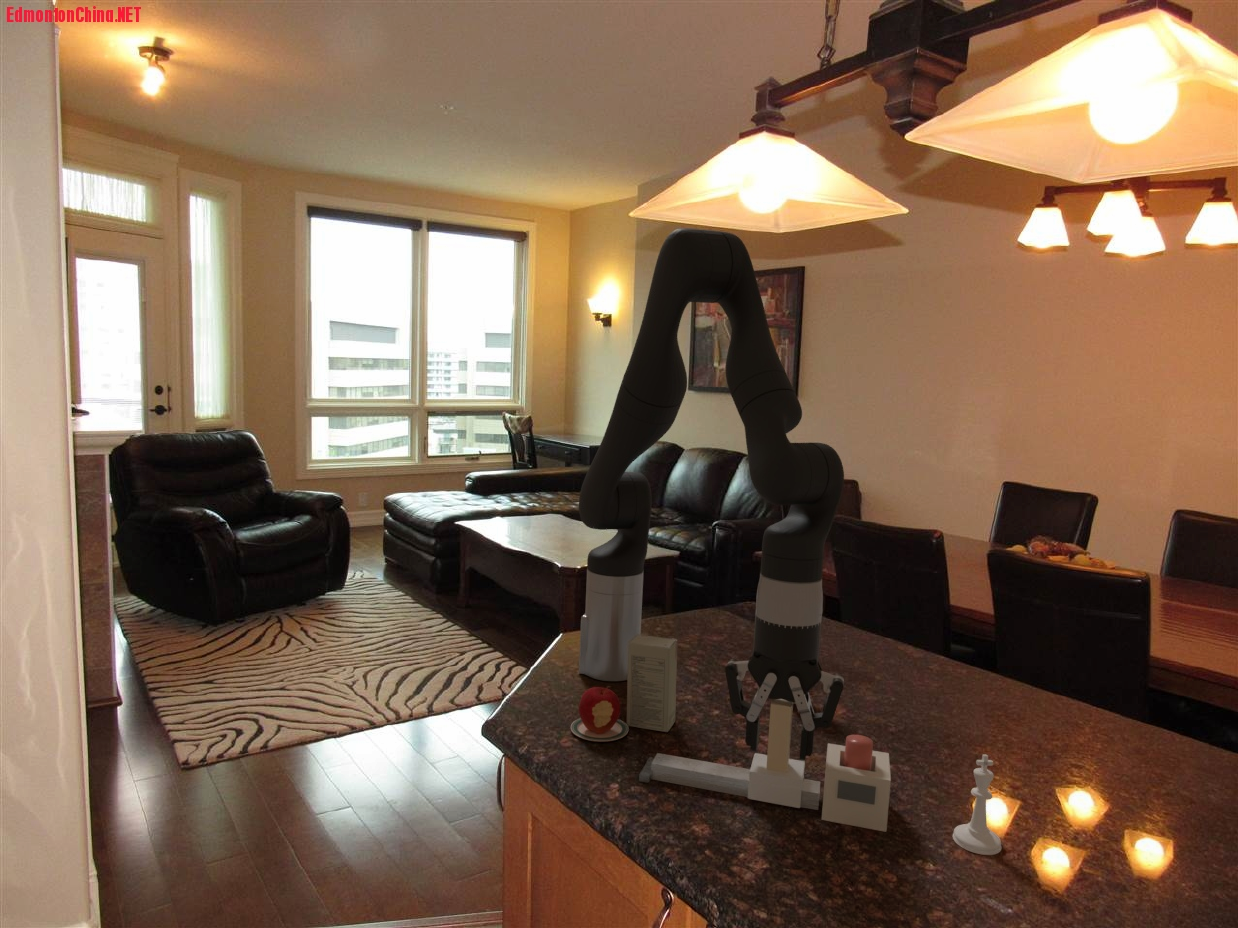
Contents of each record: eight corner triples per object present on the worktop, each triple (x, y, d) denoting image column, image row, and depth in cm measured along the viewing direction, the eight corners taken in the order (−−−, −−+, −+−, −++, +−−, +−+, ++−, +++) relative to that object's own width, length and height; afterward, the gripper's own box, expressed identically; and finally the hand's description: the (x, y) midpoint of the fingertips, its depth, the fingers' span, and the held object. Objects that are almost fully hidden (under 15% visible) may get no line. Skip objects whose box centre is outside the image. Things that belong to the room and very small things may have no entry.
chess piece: (944, 829, 92) (952, 744, 91) (986, 829, 93) (994, 744, 92) (966, 855, 87) (975, 765, 86) (1010, 855, 88) (1019, 766, 87)
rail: (638, 780, 100) (639, 765, 100) (649, 762, 105) (649, 747, 105) (817, 814, 94) (818, 797, 94) (819, 793, 99) (820, 777, 99)
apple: (640, 732, 114) (642, 687, 113) (599, 750, 108) (601, 702, 107) (599, 714, 119) (600, 671, 119) (558, 730, 113) (560, 684, 113)
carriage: (747, 798, 96) (753, 705, 95) (753, 777, 101) (759, 689, 100) (799, 808, 95) (806, 714, 93) (802, 786, 100) (809, 697, 98)
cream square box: (821, 820, 93) (825, 770, 92) (824, 790, 100) (827, 743, 99) (886, 832, 91) (890, 781, 90) (884, 801, 98) (888, 753, 97)
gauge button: (842, 785, 94) (845, 743, 94) (843, 773, 97) (846, 732, 97) (869, 789, 93) (873, 748, 93) (869, 777, 96) (872, 737, 96)
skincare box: (675, 721, 118) (680, 638, 116) (667, 733, 114) (672, 648, 112) (633, 713, 120) (637, 632, 118) (623, 725, 116) (627, 641, 114)
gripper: (721, 614, 94) (713, 756, 96) (852, 631, 90) (840, 778, 92) (731, 598, 101) (723, 730, 103) (852, 612, 97) (841, 749, 99)
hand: (778, 752), depth 97 cm, fingers open, 5 cm apart
